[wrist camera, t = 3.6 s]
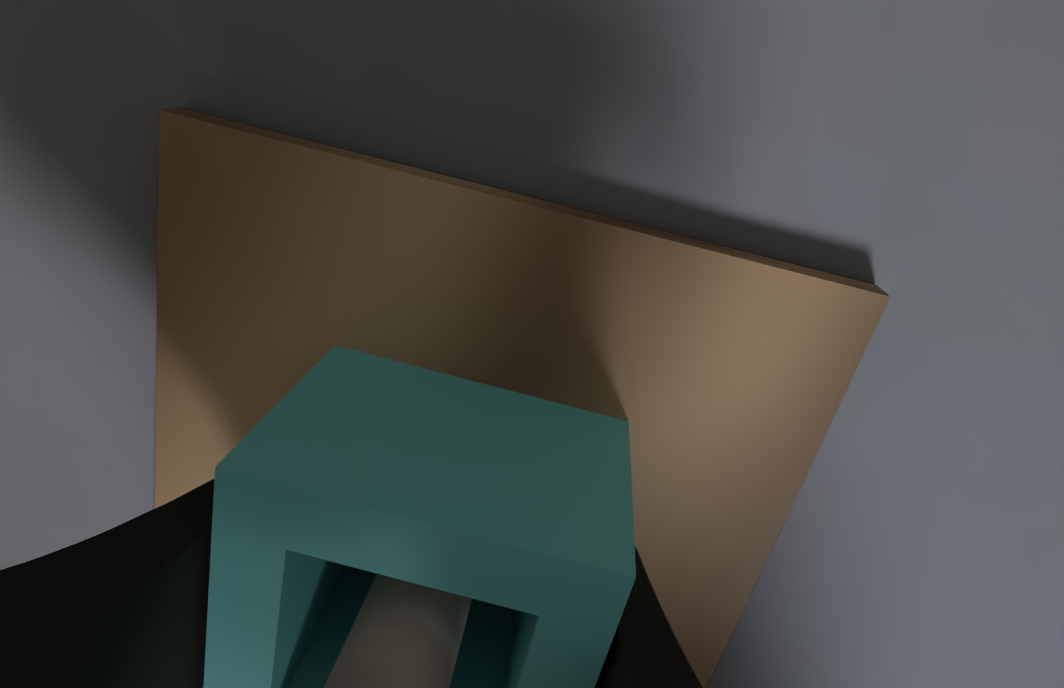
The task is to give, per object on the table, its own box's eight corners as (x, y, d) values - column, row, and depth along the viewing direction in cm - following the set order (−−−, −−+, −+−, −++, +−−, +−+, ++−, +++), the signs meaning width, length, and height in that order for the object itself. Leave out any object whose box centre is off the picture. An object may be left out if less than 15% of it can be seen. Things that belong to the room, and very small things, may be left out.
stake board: (877, 285, 11) (1070, 447, 7) (660, 757, 16) (681, 1052, 11) (180, 107, 11) (-129, 138, 7) (169, 628, 16) (-17, 865, 11)
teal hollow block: (628, 420, 12) (636, 577, 8) (540, 687, 15) (516, 894, 11) (334, 345, 12) (215, 466, 8) (300, 624, 15) (197, 808, 11)
